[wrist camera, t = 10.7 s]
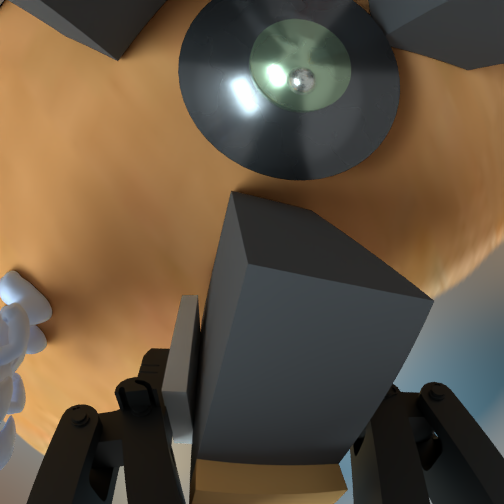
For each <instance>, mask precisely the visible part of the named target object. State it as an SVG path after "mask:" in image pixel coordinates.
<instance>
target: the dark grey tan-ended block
mask: <svg viewBox="0 0 504 504" xmlns="http://www.w3.org/2000/svg"><path fill="white" fill-rule="evenodd" d="M368 1H369V7H370V14H371V17H372V18H373V19H374V21H375V22H376V23H377V24H378V26H379V27H380V28H381V30H382V31H383V33H384V35H385V36H386V38H387V40H388V42H389V44H390V46H391V47H395V48H399V49H403V50H407V51H410V52H414V53H417V54H421V55H424V56H428V57H431V58H434V59H437V60H440V61H443V62H446V63H449V64H452V65H455V66H458V67H460V68H463V69H466V70H472V69H477V68H482V67H487V66H492V65H498V64H504V0H368Z"/></svg>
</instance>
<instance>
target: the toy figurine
mask: <svg viewBox="0 0 504 504" xmlns="http://www.w3.org/2000/svg"><path fill="white" fill-rule="evenodd" d="M0 297H1V299H2V300H3V301H4V302H5V303H6V304H7V305H8V306H4V307H2V309H1V310H0V423H1V422H2V421H3V419H4V418H5V416H6V414H14V413H19V412H21V411H22V410H23V408H24V405H25V400H26V396H25V388H24V385H23V381H22V379H21V377H20V375H19V374H18V373H15V371H16V370H17V368H18V367H19V366H20V364H21V363H22V361H23V359H24V357H25V354H35V353H38V352H41V351H42V350H44V349H45V348H46V346H47V340H46V337H45V335H44V333H43V332H42V331H41V330H40V329H39V327H37V326H36V324H40V323H43V322H45V321H47V320H49V319H50V318H51V316H52V308H51V306H50V304H49V302H48V300H47V299H46V298H45V297H44V296H43V295H42V294H41V293H40V292H39V291H38V290H37V289H36V288H35V287H34V286H33V285H32V284H31V283H30V282H28V281H27V280H25V279H24V278H22V277H21V276H20V274H19V273H18V272H16V271H9V272H8V273H6V274H5V275H4V277H2V278H1V279H0ZM15 434H16V428H15V422H14V419H13V417H12V416H10V417H9V418H8V420H7V422H6V424H5V426H4V427H3V429H2V430H1V431H0V470H1V469H2V468H3V467H4V466H5V465H6V464H7V462H8V461H9V459H10V457H11V455H12V452H13V449H14V443H15Z"/></svg>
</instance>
